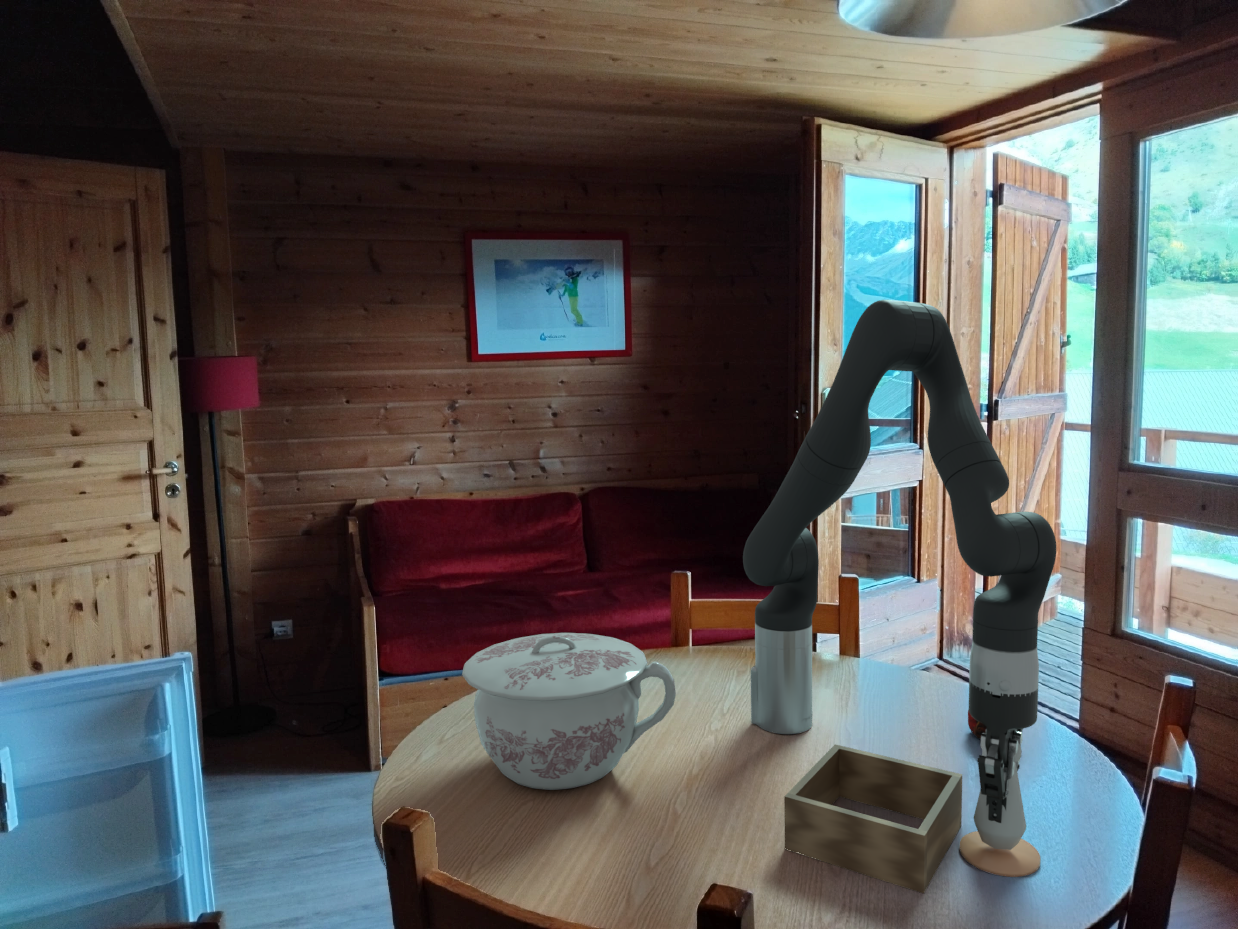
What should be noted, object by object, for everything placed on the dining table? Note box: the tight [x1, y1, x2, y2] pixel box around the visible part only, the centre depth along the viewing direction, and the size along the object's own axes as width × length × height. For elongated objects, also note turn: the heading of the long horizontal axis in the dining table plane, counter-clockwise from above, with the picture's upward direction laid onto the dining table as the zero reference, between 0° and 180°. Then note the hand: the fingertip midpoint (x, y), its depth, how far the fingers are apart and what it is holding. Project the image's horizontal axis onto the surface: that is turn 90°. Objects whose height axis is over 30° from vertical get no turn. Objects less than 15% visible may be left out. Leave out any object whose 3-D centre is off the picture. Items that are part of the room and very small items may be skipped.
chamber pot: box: [461, 632, 677, 791], centre depth 131 cm, size 28×28×21 cm
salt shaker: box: [973, 743, 1027, 850], centre depth 106 cm, size 6×6×13 cm
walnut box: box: [783, 743, 963, 894], centre depth 111 cm, size 17×17×7 cm
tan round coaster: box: [959, 830, 1041, 878], centre depth 107 cm, size 9×9×1 cm
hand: (999, 816), depth 106 cm, fingers closed on salt shaker, 3 cm apart
